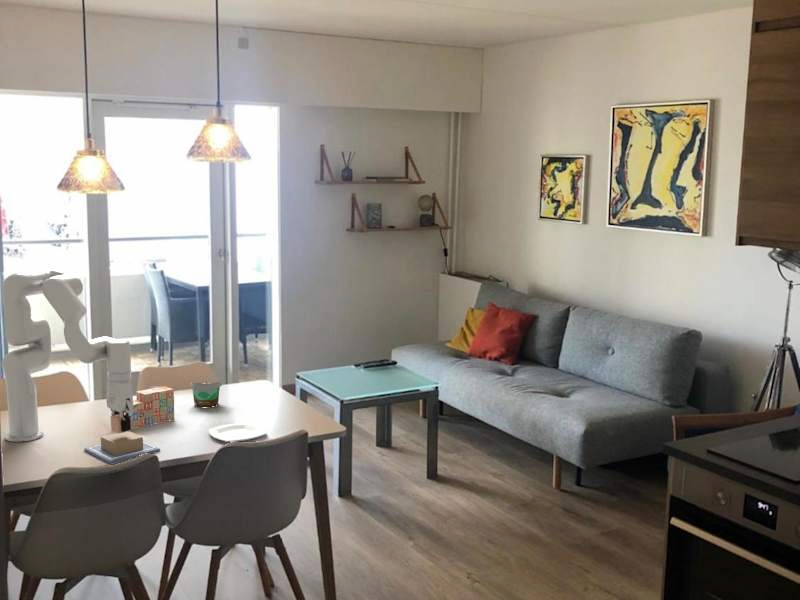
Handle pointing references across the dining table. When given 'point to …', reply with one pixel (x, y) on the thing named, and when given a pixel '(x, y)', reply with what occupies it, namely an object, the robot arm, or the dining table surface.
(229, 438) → the plate
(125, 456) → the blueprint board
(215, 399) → the food container
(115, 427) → the terracotta cube
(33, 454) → the dining table surface
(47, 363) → the robot arm
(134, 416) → the stack of blocks
